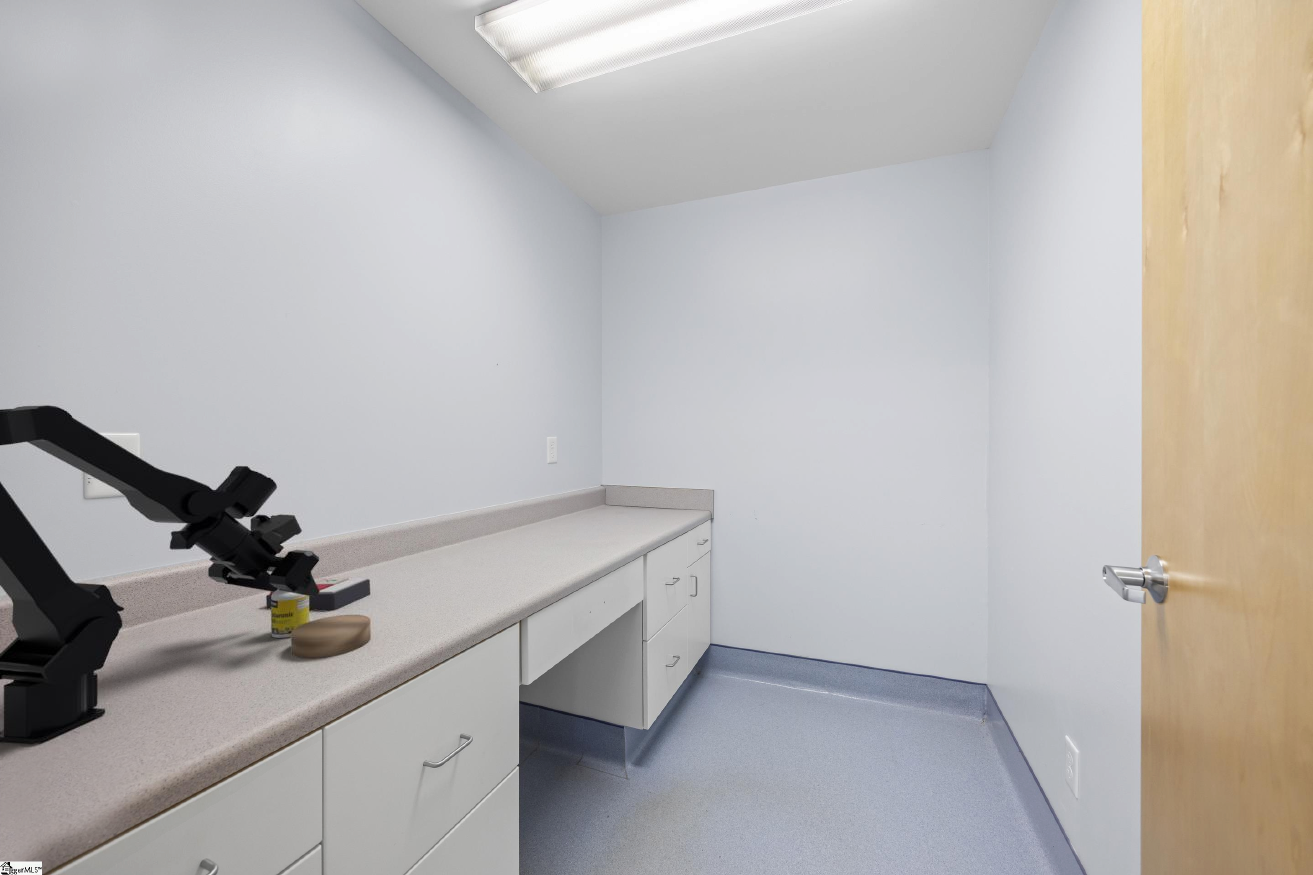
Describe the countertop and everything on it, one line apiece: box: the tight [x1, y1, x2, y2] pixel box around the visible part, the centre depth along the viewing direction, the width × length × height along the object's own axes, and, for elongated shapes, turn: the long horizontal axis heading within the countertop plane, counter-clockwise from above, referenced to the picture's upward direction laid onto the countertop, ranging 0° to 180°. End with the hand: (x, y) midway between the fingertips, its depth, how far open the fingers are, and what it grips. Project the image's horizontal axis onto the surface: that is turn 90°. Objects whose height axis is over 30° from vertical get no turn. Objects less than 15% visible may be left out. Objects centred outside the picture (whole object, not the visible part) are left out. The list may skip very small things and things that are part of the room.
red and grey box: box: [265, 577, 371, 612], centre depth 108 cm, size 11×4×15 cm
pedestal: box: [290, 614, 372, 659], centre depth 85 cm, size 11×11×3 cm
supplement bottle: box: [270, 588, 310, 639], centre depth 90 cm, size 5×5×10 cm
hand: (297, 591), depth 91 cm, fingers open, 9 cm apart
